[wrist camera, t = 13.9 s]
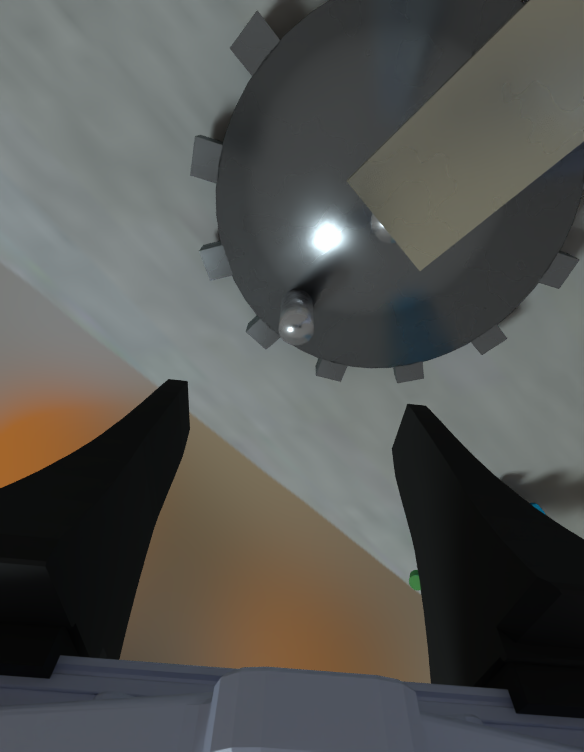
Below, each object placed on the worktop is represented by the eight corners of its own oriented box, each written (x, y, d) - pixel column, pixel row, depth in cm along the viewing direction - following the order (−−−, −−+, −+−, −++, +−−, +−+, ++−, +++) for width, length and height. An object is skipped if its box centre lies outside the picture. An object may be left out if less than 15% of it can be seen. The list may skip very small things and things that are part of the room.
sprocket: (711, 40, 15) (819, 23, 12) (465, 404, 25) (488, 447, 22) (239, -161, 13) (217, -249, 10) (174, 330, 23) (153, 366, 19)
